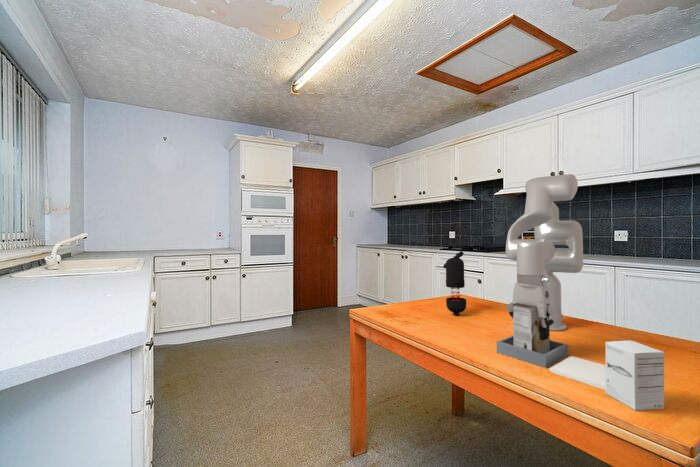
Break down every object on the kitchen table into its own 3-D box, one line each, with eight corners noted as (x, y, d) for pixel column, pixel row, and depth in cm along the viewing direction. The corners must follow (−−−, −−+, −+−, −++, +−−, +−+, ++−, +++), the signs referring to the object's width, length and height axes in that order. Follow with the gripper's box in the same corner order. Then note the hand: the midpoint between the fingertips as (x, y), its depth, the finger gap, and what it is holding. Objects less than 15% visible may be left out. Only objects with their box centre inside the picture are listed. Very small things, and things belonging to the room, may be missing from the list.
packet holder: (520, 342, 110) (520, 332, 110) (567, 355, 98) (567, 344, 98) (496, 352, 101) (496, 341, 101) (545, 368, 89) (545, 355, 89)
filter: (472, 317, 142) (471, 251, 142) (455, 319, 139) (454, 251, 139) (453, 310, 155) (452, 249, 155) (437, 312, 152) (436, 250, 152)
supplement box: (604, 394, 75) (603, 341, 75) (632, 392, 76) (632, 339, 75) (634, 411, 68) (634, 353, 68) (666, 409, 68) (665, 351, 68)
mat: (571, 359, 95) (571, 355, 95) (631, 376, 83) (631, 372, 83) (549, 371, 87) (549, 368, 87) (613, 392, 75) (613, 388, 75)
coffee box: (530, 348, 104) (530, 299, 104) (550, 354, 99) (549, 303, 99) (512, 353, 100) (512, 303, 100) (532, 360, 94) (531, 307, 94)
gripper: (566, 282, 94) (567, 341, 94) (509, 275, 109) (510, 327, 109) (555, 284, 90) (556, 347, 90) (497, 278, 104) (498, 331, 104)
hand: (531, 335), depth 99 cm, fingers closed on coffee box, 6 cm apart
